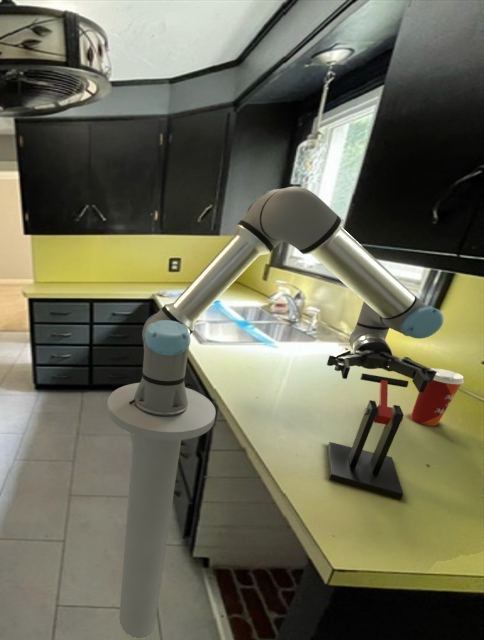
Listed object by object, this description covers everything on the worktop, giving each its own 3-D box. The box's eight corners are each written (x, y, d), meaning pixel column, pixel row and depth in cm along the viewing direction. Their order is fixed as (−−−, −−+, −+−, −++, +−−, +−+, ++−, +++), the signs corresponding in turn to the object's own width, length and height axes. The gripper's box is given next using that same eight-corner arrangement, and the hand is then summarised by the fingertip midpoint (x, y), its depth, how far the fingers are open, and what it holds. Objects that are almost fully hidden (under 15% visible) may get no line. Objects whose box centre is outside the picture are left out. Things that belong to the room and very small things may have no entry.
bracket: (327, 446, 87) (347, 387, 81) (389, 462, 82) (416, 400, 75) (329, 479, 76) (352, 414, 70) (401, 500, 71) (434, 431, 64)
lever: (359, 377, 82) (363, 370, 80) (404, 385, 78) (409, 378, 76) (356, 418, 75) (360, 411, 73) (405, 429, 72) (411, 421, 70)
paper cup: (444, 430, 94) (468, 382, 88) (406, 421, 98) (427, 374, 92) (440, 418, 100) (463, 372, 94) (405, 410, 104) (424, 365, 98)
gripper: (426, 374, 92) (451, 408, 75) (313, 356, 103) (313, 383, 86) (438, 346, 89) (468, 375, 72) (320, 330, 100) (321, 353, 83)
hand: (383, 379), depth 79 cm, fingers open, 13 cm apart
